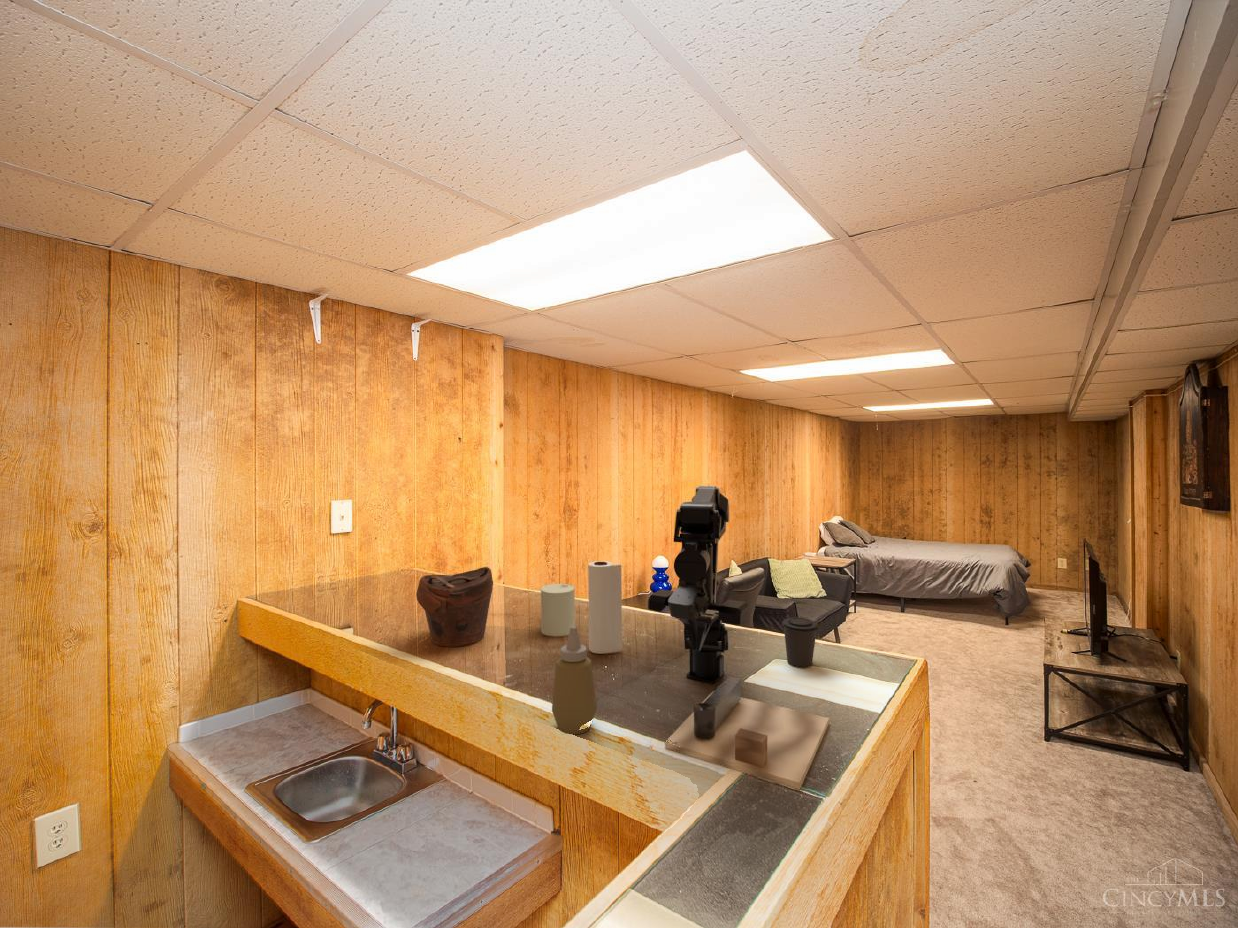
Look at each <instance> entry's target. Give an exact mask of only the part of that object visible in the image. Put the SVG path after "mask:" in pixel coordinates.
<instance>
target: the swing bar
mask: <svg viewBox="0 0 1238 928" xmlns="http://www.w3.org/2000/svg"><path fill="white" fill-rule="evenodd" d="M741 679H742V678H739V677H733V676H729V675H728V676H727V677H726V678H725V679H724V680H723V681H722V682H721V684H719V685H718V686H717V687H716V689H715V690H713V691H714V692H713V691H712V692H713V693H712V692H711V693H712V694H711V693H710V694H711V695H710V694H709V695H710V696H709V695H708V696H709V697H708V696H707V697H708V698H707V697H706V698H707V699H706V698H705V699H706V700H705V699H704V700H705V701H704V700H703V701H704V702H703V701H702V702H703V703H702V702H701V703H697V704H695V705H694V706H693V712H694V735H695V736H696V737H698V738H701V739H711V738H713V737H714V736H715V730H716V729H717V728H718V727H719V726H720V724H721V723H722V722H723V721H724V719H725V718H726V717H727V716H728V714H729V713H730V712H731V711H732V710H733V708H734V707H735V706H736V705H737V703H738V702H739V701H740V700H741V697H742V695H741V694H742V693H741V691H742V690H741V687H742V684H741V683H742V682H741Z"/></svg>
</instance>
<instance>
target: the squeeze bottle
mask: <svg viewBox="0 0 1238 928" xmlns="http://www.w3.org/2000/svg"><path fill="white" fill-rule="evenodd" d="M567 637H568V638H567V642H566V644H565V645H563V646H561V648H560V658H559V659H557V660H556V662H555V669H554V682H553V692H552V705H551V712H552V715H553V718H554V721H555V723H556V725H557V728H558V730H559V731H560V732H561V733H564V734H565V735H579V734H583V733H585V732H587V731H589V730H590V728H588V727H587V728H585V729H581V730H579V729H580V727H581V726H582V725H584V724H586V723H587V722H589V721H591V720H592V719H593V720H594V717H595V714H596V711H597V698H596V690H595V680H594V670H593V662H592V661H593V660H591V659H590V658H589V657H588V655H587V653H588V652H587V646H586V645H584V644H581V640H580V637H579V632H578V628H577V627H576V626H575V627H571V628H570V632H569V635H568V636H567Z"/></svg>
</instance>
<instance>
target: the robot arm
mask: <svg viewBox="0 0 1238 928" xmlns="http://www.w3.org/2000/svg"><path fill="white" fill-rule="evenodd" d="M729 522H730V504H729V499H728V498H727V497H726V496H724V495H723V494H722V493H721V491H720V488H719V487H717V486H713V485H711V486H710V485H699V486H696V487H695V495H694V496H693V497H691V501H684V502H683V503H681V504H680V507H679V508H677V510H676V513H675V522H674V533H673V543H681V549H680V551H679V552H678V554H677V555H676V556H675V559H674V562H673V571H674V572H675V574H676V576H677V578H678V585H677V587H676V589H675V590H667V589H659V590H656V591H655V592H654V593H651V594H650V595H649V596H648V599H647V609H648V610H649V611H654V612H659V613H660V612H663V610H665V609H666V608H667V607H668V609H669V614H670V616H671V617H672V618H675V619H678V620H679V621H680V623H682V625H683V626H684V627H683V639H684V640H683V641H684V650H689V661H688V662H689V663H688V664H689V672H688V673H686V674H685V675H686V678H689V679H691V680H692V679H693V680H697V681H702V682H706V683H708V684H709V683H710V684H715V683H716V682H717V681H718V680H719V679H721V677H722V676H724V674H725V656H724V654H725V652H726V651H728V650H729V633H728V629H726V625H725V624H729V625H735V626H737V625H738V626H739V625H741V624H743V623H744V622H745V621H746V620H747V619H748V618H749V617H750V607H749V604H748V603H747V602H746V601H742V600H735V599H727V600H726V601H725V602H723V603H717V601H716V600H717V582H718V581H717V580H718V559H719V557H718V555H719V541H720V540H721V539H722V537H723V536H724V534H725V533H726V531H727V530H726V529H727V523H729ZM723 653H724V654H723Z"/></svg>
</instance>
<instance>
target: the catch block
mask: <svg viewBox="0 0 1238 928" xmlns="http://www.w3.org/2000/svg"><path fill="white" fill-rule="evenodd" d="M735 760H738V761H741V762H744V763H748V764H751V765H754V766H758V767H761V768H763V767H764V765H765V763H766V761H767V735H764V734H760V733H757V732H753V731H749V730H745V729H742V728H740V729H739V730H738V732H737V733H736V734H735Z"/></svg>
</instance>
